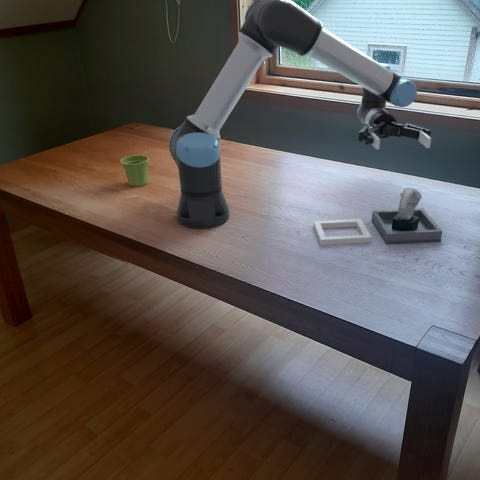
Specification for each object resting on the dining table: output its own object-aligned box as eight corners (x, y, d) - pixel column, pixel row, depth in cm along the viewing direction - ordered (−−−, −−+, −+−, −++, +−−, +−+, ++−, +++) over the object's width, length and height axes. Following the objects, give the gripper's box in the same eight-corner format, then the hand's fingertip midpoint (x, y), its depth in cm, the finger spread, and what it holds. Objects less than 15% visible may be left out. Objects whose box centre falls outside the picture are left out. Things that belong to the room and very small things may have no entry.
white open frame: (320, 245, 132) (320, 239, 132) (313, 226, 142) (313, 221, 141) (371, 242, 132) (371, 237, 132) (360, 223, 142) (360, 218, 142)
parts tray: (386, 244, 131) (387, 233, 130) (371, 220, 144) (372, 211, 142) (440, 241, 131) (442, 231, 130) (421, 218, 144) (422, 208, 143)
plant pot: (127, 190, 170) (123, 165, 166) (121, 181, 178) (117, 157, 174) (154, 185, 174) (152, 161, 170) (147, 177, 181) (144, 153, 177)
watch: (420, 224, 139) (425, 186, 133) (409, 236, 133) (414, 197, 128) (399, 220, 141) (404, 182, 136) (388, 231, 136) (393, 192, 131)
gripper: (420, 134, 158) (447, 156, 139) (339, 136, 157) (355, 158, 138) (423, 109, 154) (452, 128, 135) (340, 111, 153) (358, 131, 135)
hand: (403, 143), depth 137 cm, fingers open, 13 cm apart
